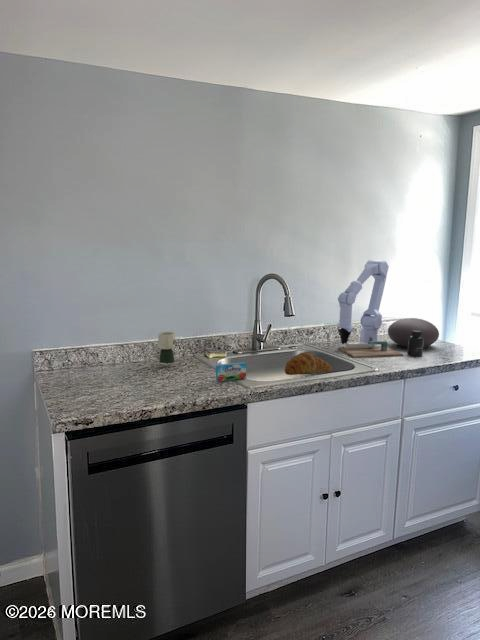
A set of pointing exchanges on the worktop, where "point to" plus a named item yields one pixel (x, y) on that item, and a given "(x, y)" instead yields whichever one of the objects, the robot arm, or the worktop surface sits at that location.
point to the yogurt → (230, 371)
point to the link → (358, 345)
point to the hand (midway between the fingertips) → (344, 343)
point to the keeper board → (372, 351)
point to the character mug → (166, 346)
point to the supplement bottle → (415, 344)
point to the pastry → (306, 365)
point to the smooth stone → (404, 327)
